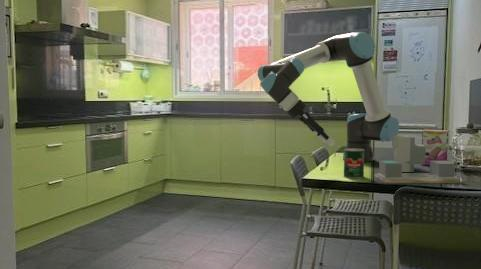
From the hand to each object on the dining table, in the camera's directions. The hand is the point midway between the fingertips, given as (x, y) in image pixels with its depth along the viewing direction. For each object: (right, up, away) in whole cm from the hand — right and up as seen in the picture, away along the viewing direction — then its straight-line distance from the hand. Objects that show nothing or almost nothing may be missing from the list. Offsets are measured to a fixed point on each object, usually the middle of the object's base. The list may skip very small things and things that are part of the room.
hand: (330, 142), depth 188 cm
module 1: (+22, -12, -7) cm, 26 cm away
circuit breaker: (+37, -13, +14) cm, 41 cm away
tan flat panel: (+32, -14, -6) cm, 35 cm away
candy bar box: (+54, -11, +29) cm, 62 cm away
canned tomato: (+10, -14, +1) cm, 17 cm away
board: (+32, -14, -6) cm, 35 cm away
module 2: (+42, -12, -6) cm, 44 cm away
